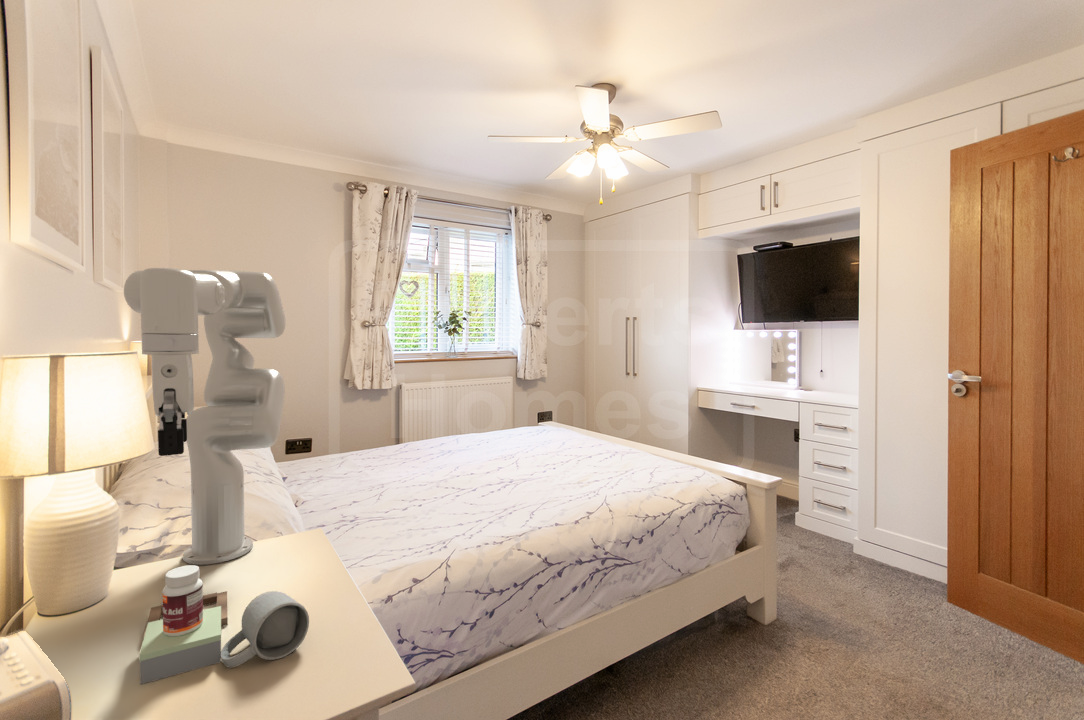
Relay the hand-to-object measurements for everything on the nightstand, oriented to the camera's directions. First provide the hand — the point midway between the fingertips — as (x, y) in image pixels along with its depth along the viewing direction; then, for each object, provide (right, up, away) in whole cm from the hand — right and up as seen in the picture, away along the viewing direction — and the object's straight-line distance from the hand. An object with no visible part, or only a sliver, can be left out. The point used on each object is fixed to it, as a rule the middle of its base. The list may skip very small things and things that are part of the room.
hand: (173, 448), depth 84 cm
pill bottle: (+9, -24, -11) cm, 28 cm away
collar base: (+3, -28, -1) cm, 28 cm away
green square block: (+9, -28, -11) cm, 31 cm away
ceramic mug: (+20, -29, -9) cm, 36 cm away
